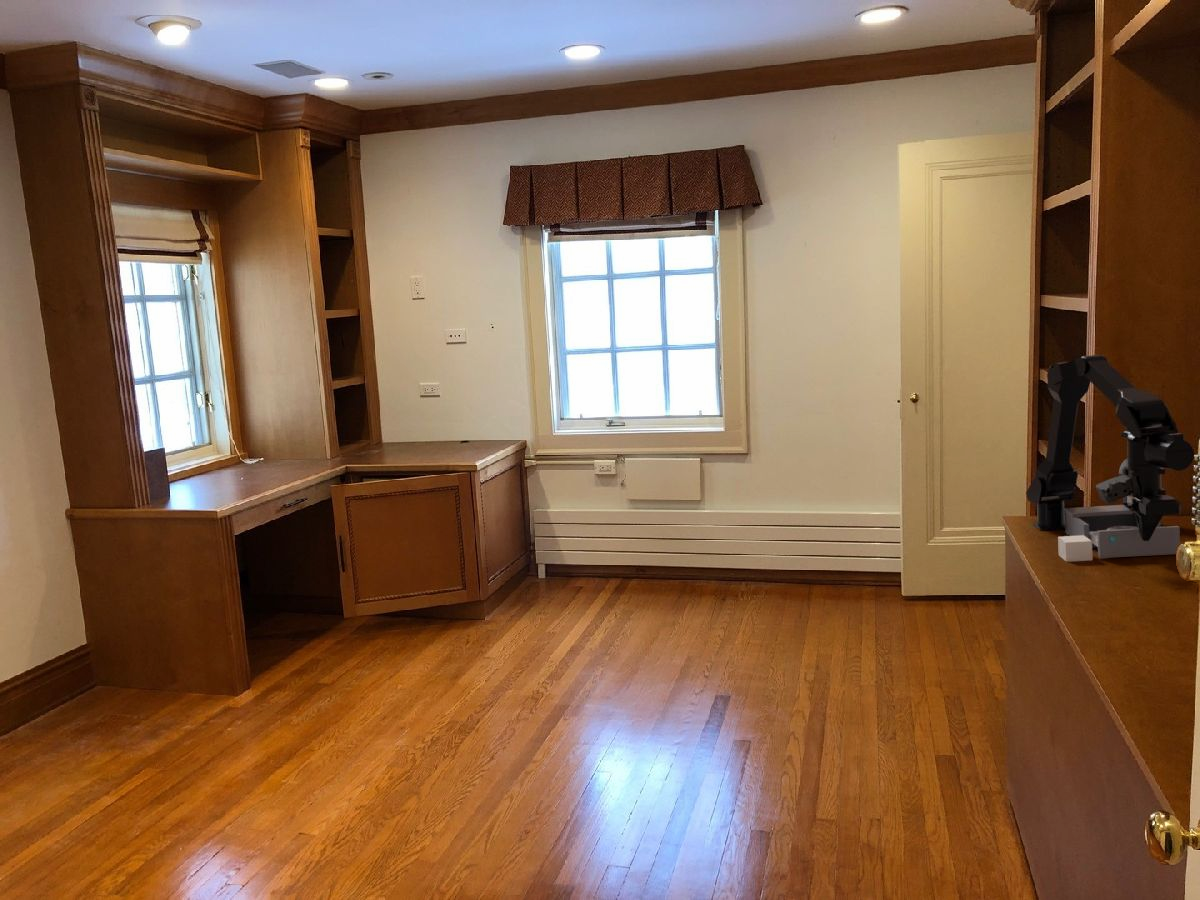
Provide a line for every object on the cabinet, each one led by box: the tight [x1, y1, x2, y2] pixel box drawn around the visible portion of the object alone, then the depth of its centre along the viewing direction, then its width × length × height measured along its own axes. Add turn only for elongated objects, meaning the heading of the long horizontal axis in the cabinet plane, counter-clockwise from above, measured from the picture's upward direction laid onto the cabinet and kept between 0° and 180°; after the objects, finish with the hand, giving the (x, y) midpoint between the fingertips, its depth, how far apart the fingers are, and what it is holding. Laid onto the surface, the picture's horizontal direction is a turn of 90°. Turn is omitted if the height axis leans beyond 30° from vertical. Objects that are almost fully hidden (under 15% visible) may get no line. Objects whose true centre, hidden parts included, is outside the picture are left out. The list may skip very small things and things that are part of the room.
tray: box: [1089, 525, 1181, 559], centre depth 203 cm, size 14×15×6 cm
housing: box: [1064, 504, 1162, 549], centre depth 212 cm, size 13×15×6 cm
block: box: [1057, 535, 1093, 563], centre depth 201 cm, size 5×5×4 cm
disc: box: [1107, 526, 1138, 530], centre depth 204 cm, size 7×7×2 cm
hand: (1145, 540), depth 193 cm, fingers closed
